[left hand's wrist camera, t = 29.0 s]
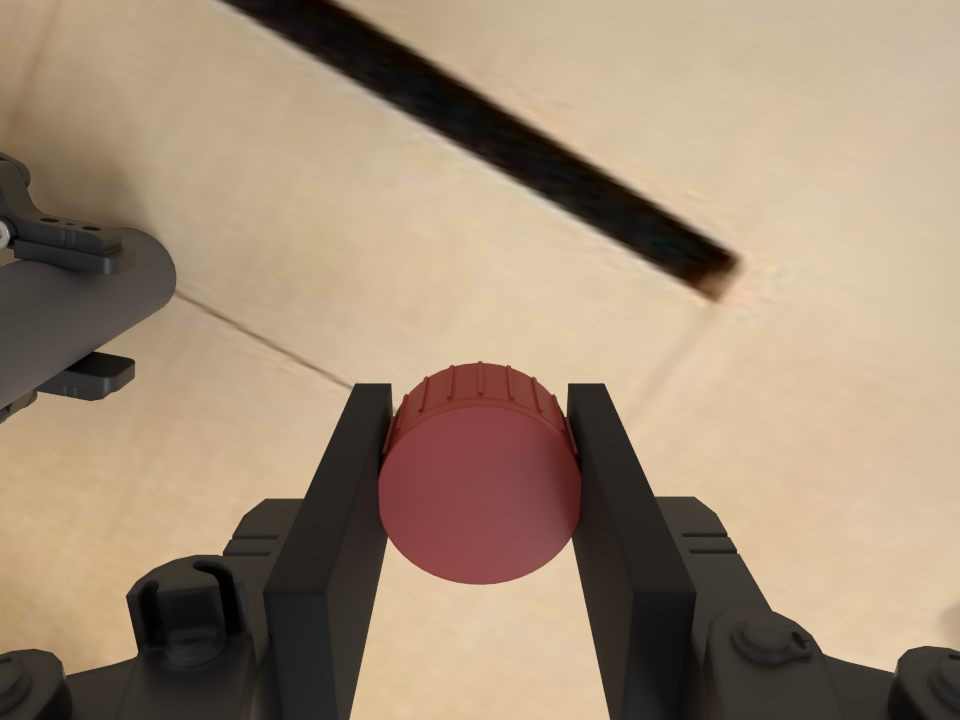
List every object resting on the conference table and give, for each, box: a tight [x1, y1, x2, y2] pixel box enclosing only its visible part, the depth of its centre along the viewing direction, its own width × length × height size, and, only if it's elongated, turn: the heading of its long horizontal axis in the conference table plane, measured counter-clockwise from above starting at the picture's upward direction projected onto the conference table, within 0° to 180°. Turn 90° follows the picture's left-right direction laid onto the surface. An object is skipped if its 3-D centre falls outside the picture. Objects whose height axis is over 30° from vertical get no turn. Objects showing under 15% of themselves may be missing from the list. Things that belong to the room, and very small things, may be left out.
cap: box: [378, 361, 581, 585], centre depth 14 cm, size 4×4×2 cm
